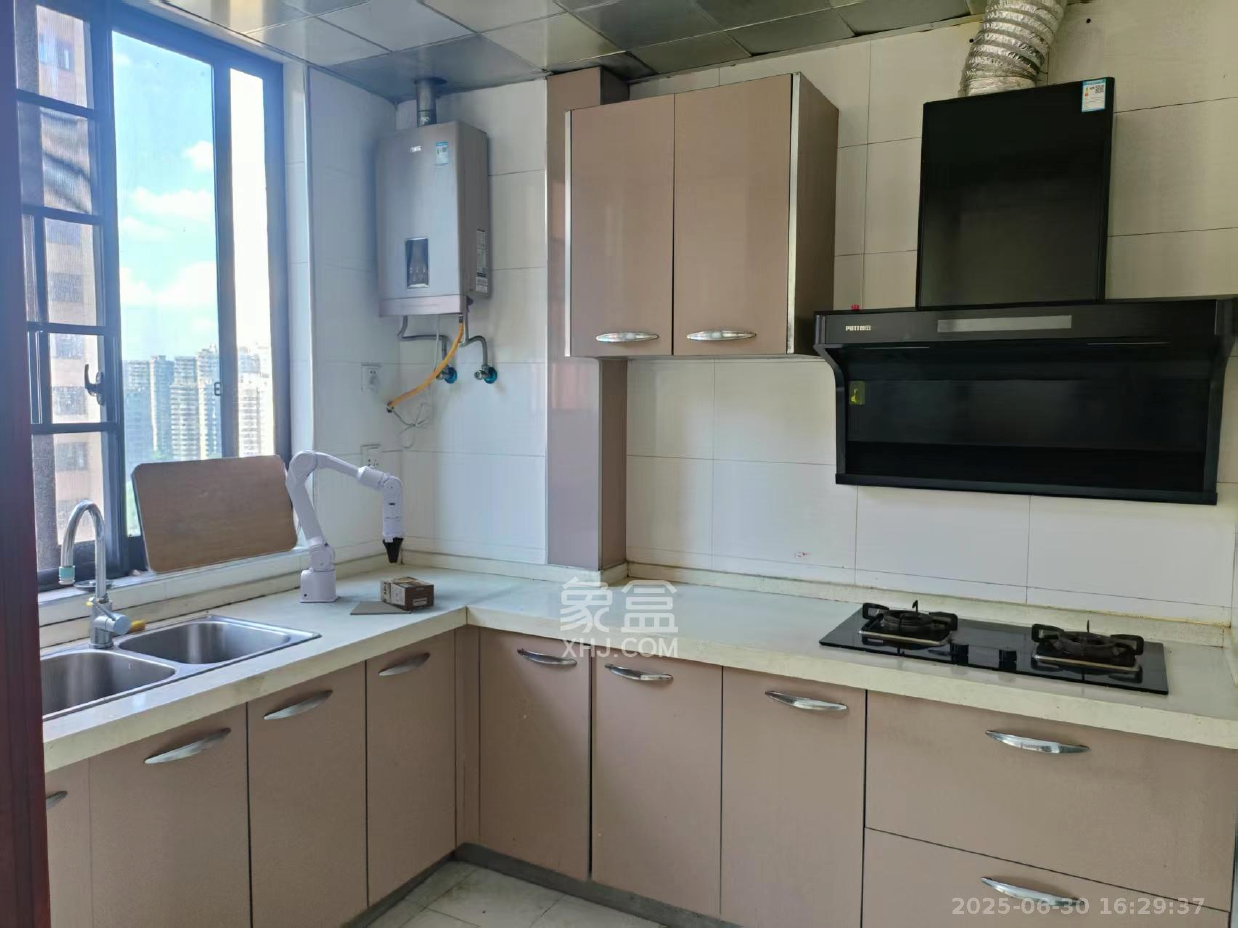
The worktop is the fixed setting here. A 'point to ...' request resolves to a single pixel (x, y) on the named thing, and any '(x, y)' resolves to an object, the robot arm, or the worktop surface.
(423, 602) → the coffee box
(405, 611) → the mat
